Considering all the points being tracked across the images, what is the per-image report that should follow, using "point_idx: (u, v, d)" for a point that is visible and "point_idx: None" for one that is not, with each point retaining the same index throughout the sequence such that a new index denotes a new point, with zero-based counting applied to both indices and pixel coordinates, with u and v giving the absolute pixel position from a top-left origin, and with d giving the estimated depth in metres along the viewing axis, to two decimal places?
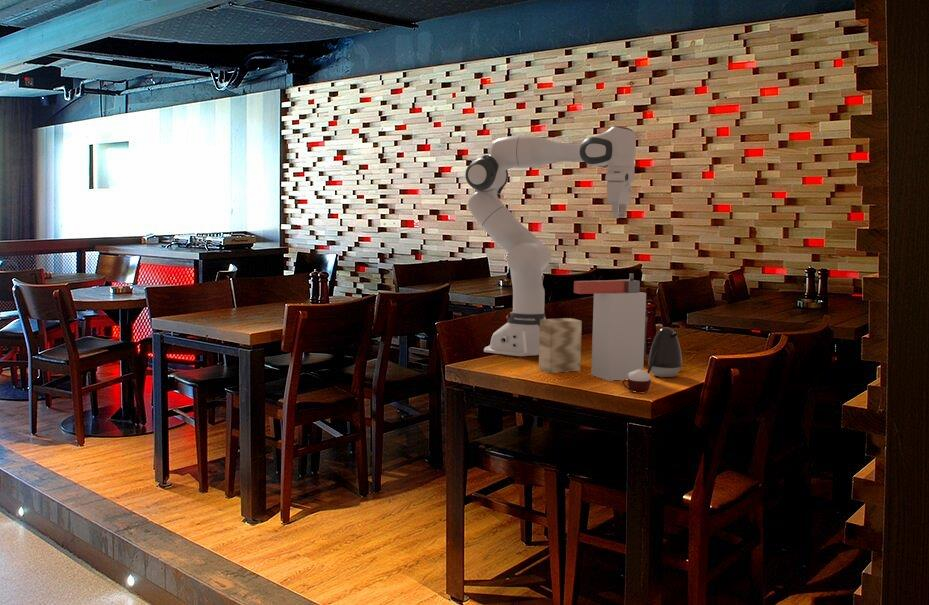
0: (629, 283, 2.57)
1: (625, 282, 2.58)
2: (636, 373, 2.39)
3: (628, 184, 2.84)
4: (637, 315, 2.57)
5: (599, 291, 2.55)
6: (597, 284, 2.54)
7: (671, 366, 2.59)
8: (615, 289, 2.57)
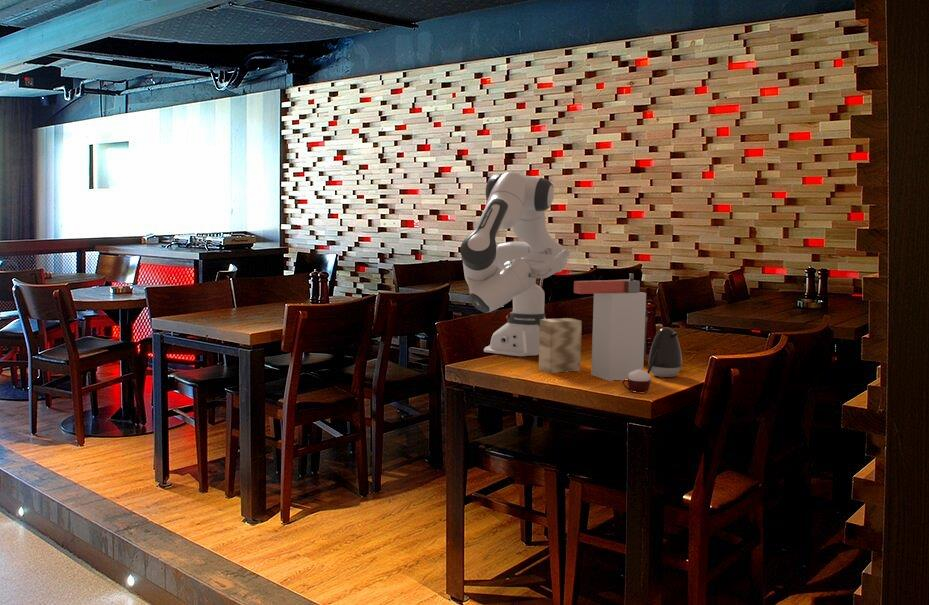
0: (629, 283, 2.57)
1: (625, 282, 2.58)
2: (636, 373, 2.39)
3: None
4: (637, 315, 2.57)
5: (599, 291, 2.55)
6: (597, 284, 2.54)
7: (671, 366, 2.59)
8: (615, 289, 2.57)
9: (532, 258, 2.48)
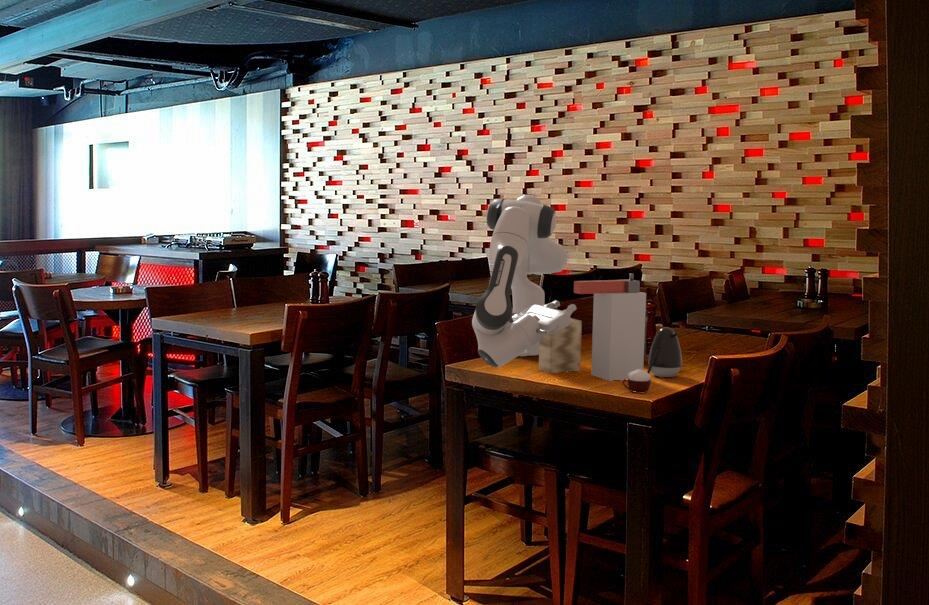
0: (629, 283, 2.57)
1: (625, 282, 2.58)
2: (636, 373, 2.39)
3: None
4: (637, 315, 2.57)
5: (599, 291, 2.55)
6: (597, 284, 2.54)
7: (671, 366, 2.59)
8: (615, 289, 2.57)
9: (540, 312, 2.52)
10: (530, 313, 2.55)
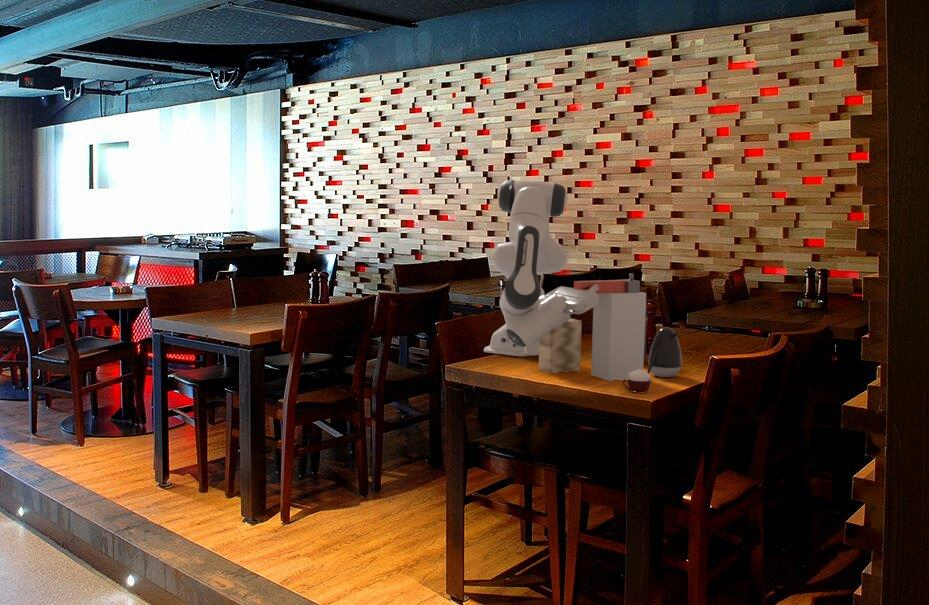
0: (629, 283, 2.57)
1: (625, 282, 2.58)
2: (636, 373, 2.39)
3: None
4: (637, 315, 2.57)
5: (599, 291, 2.55)
6: (597, 284, 2.54)
7: (671, 366, 2.59)
8: (615, 289, 2.57)
9: (566, 293, 2.54)
10: (556, 294, 2.58)
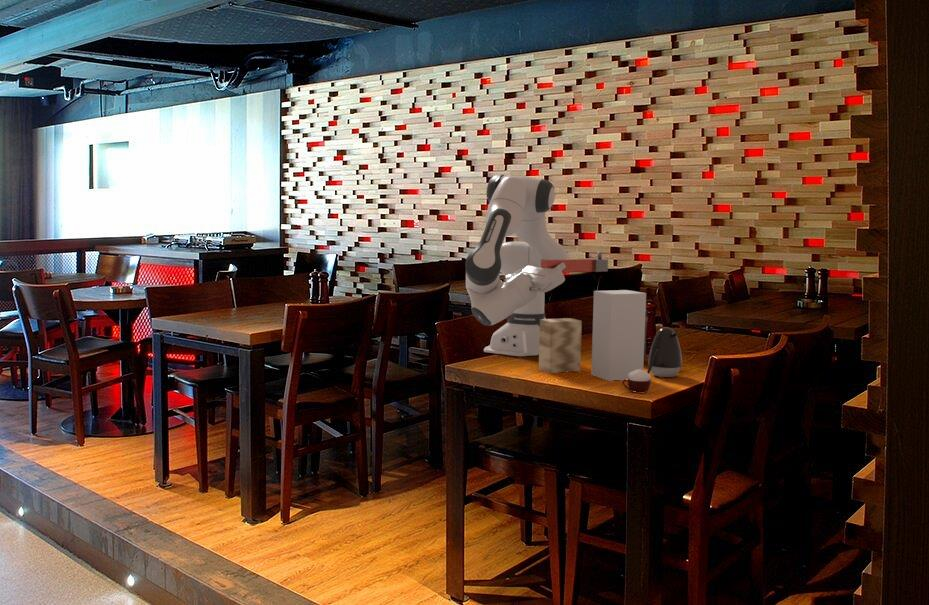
0: (597, 262, 2.54)
1: (593, 261, 2.55)
2: (636, 373, 2.39)
3: None
4: (637, 315, 2.57)
5: (566, 270, 2.52)
6: (564, 262, 2.52)
7: (671, 366, 2.59)
8: (582, 267, 2.54)
9: (533, 271, 2.52)
10: (523, 273, 2.55)
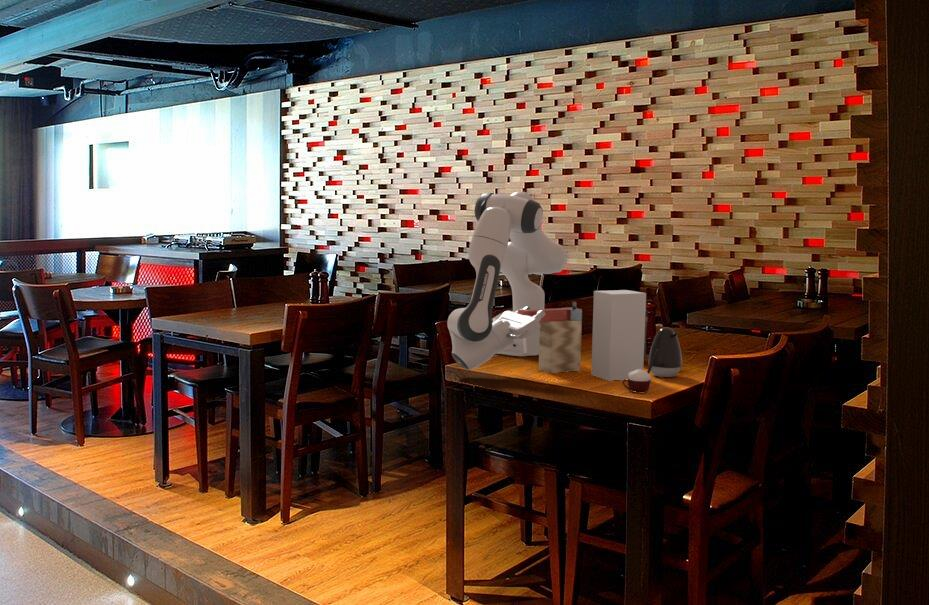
0: (571, 312, 2.68)
1: (568, 310, 2.68)
2: (636, 373, 2.39)
3: None
4: (637, 315, 2.57)
5: (542, 319, 2.65)
6: None
7: (671, 366, 2.59)
8: (557, 317, 2.67)
9: (511, 317, 2.65)
10: (502, 319, 2.68)
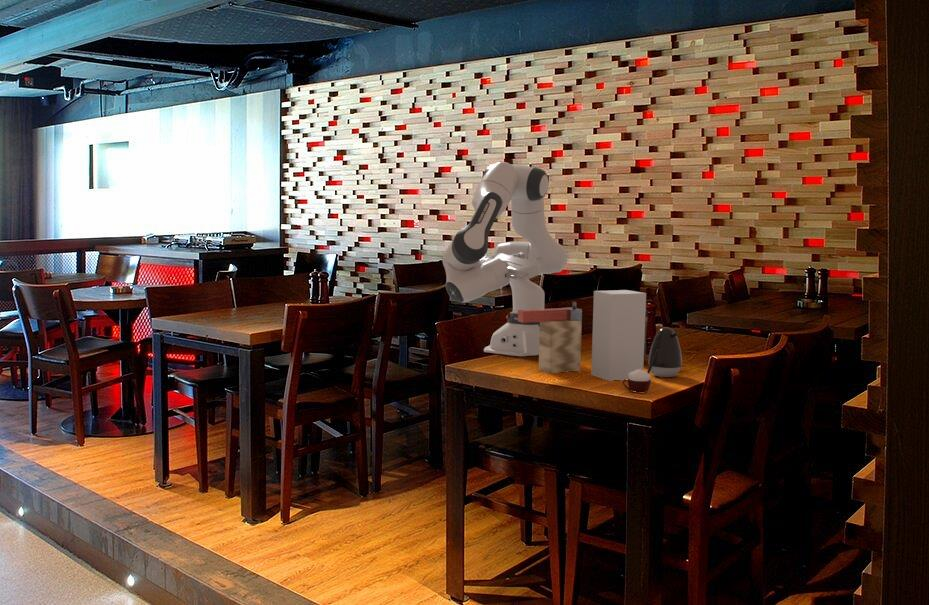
0: (571, 312, 2.68)
1: (568, 310, 2.68)
2: (636, 373, 2.39)
3: None
4: (637, 315, 2.57)
5: (542, 319, 2.65)
6: (540, 313, 2.65)
7: (671, 366, 2.59)
8: (557, 317, 2.67)
9: (508, 259, 2.60)
10: None
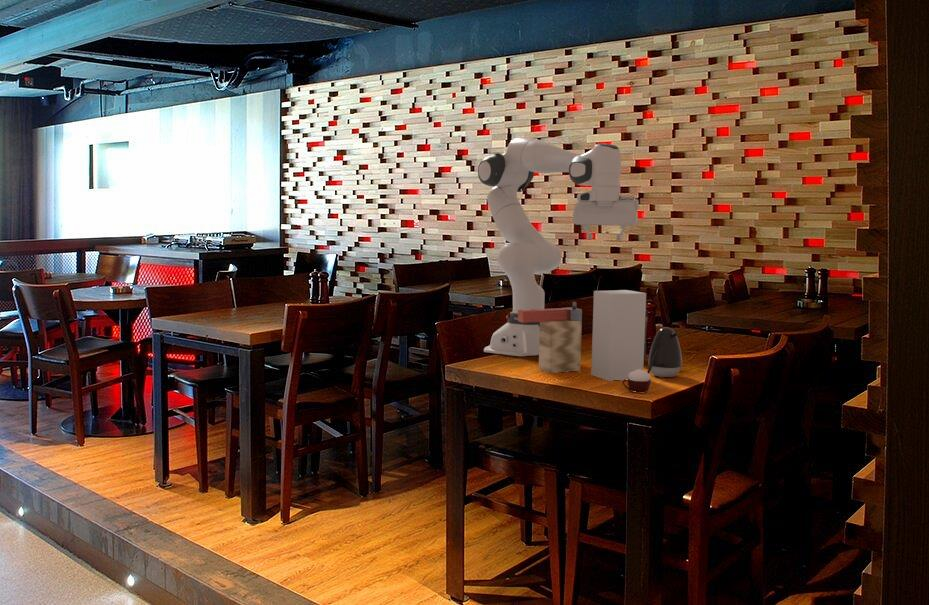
0: (571, 312, 2.68)
1: (568, 310, 2.68)
2: (636, 373, 2.39)
3: (600, 204, 2.68)
4: (637, 315, 2.57)
5: (542, 319, 2.65)
6: (540, 313, 2.65)
7: (671, 366, 2.59)
8: (557, 317, 2.67)
9: None
10: None
